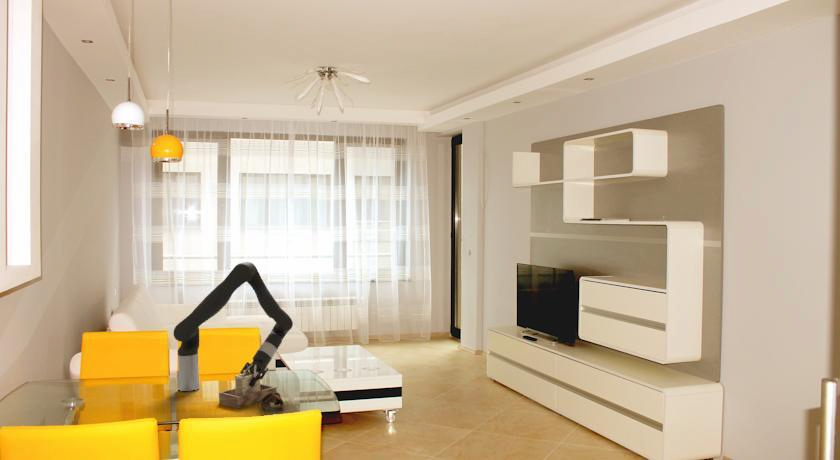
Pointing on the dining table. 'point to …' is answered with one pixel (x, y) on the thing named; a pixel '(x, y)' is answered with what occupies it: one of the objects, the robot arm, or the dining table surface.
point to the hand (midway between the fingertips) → (245, 384)
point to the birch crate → (245, 384)
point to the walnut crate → (244, 397)
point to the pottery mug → (271, 400)
